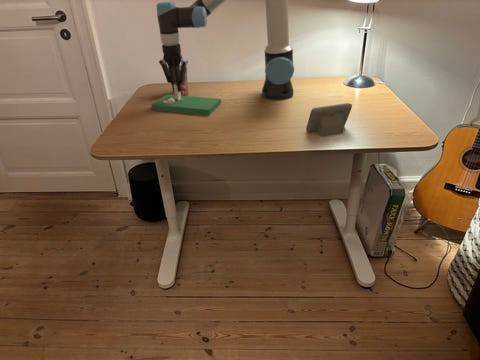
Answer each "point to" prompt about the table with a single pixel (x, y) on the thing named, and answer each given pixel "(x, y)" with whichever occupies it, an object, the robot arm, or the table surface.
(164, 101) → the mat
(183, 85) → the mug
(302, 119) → the table surface
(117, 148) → the table surface
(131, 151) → the table surface
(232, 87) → the table surface
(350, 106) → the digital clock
